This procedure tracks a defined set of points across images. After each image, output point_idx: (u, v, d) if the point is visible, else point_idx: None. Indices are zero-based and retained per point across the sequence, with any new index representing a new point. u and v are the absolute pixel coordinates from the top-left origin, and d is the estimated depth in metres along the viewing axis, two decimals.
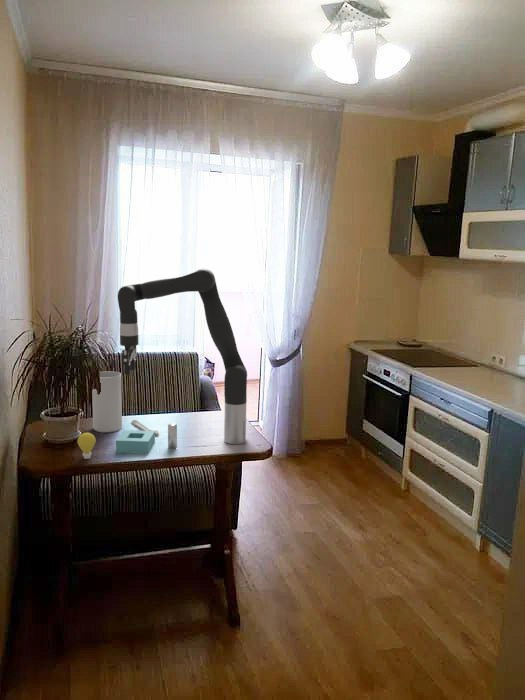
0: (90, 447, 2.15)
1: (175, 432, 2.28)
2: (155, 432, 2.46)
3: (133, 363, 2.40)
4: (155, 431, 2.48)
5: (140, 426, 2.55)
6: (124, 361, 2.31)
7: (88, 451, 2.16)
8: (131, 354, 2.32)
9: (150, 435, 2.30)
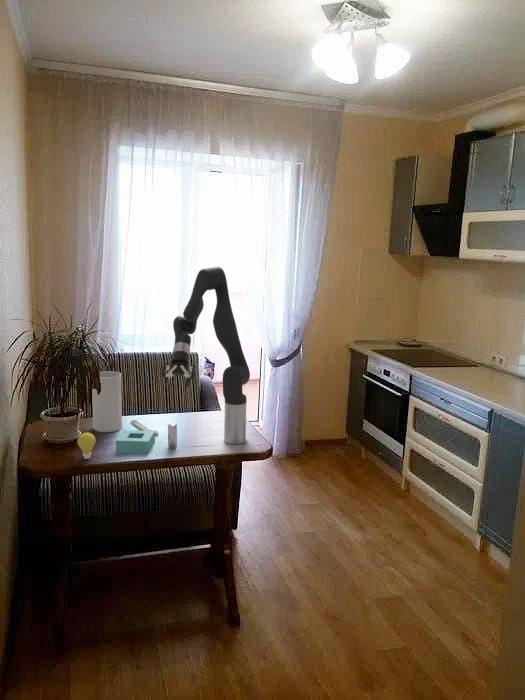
0: (90, 447, 2.15)
1: (175, 432, 2.28)
2: None
3: (186, 380, 2.39)
4: None
5: (139, 426, 2.55)
6: None
7: (88, 451, 2.16)
8: (172, 368, 2.41)
9: (150, 435, 2.30)
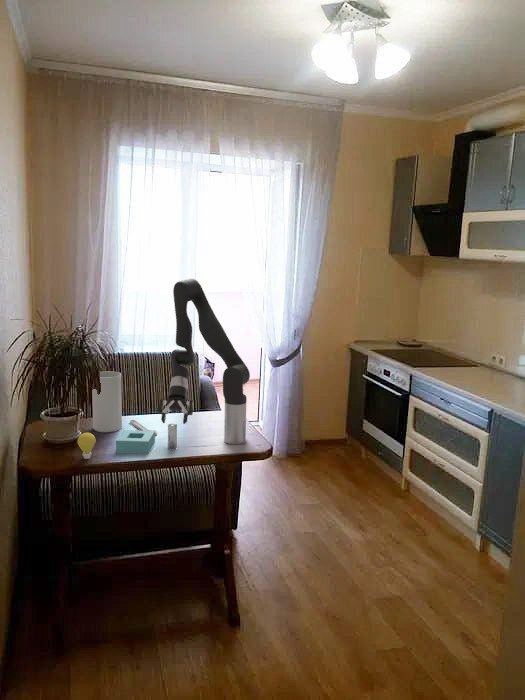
0: (90, 447, 2.15)
1: (175, 432, 2.28)
2: None
3: None
4: None
5: (138, 426, 2.55)
6: None
7: (88, 451, 2.16)
8: (169, 403, 2.36)
9: (150, 435, 2.30)
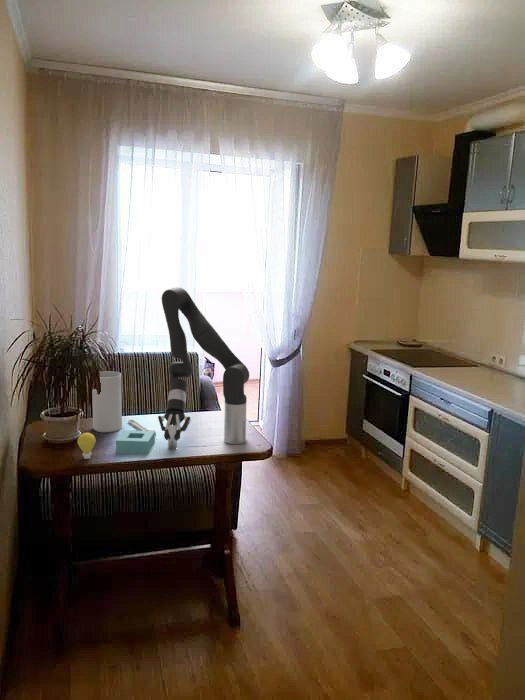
0: (90, 447, 2.15)
1: (175, 432, 2.28)
2: None
3: None
4: None
5: (137, 426, 2.55)
6: None
7: (88, 451, 2.16)
8: (168, 419, 2.31)
9: (150, 435, 2.30)
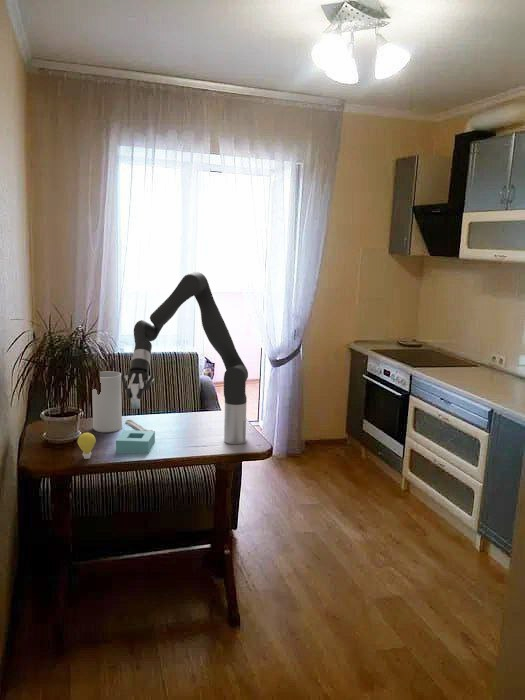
0: (90, 447, 2.15)
1: (138, 391, 2.25)
2: None
3: (139, 391, 2.26)
4: (150, 430, 2.48)
5: (135, 425, 2.55)
6: None
7: (88, 451, 2.16)
8: (131, 378, 2.28)
9: (150, 435, 2.30)
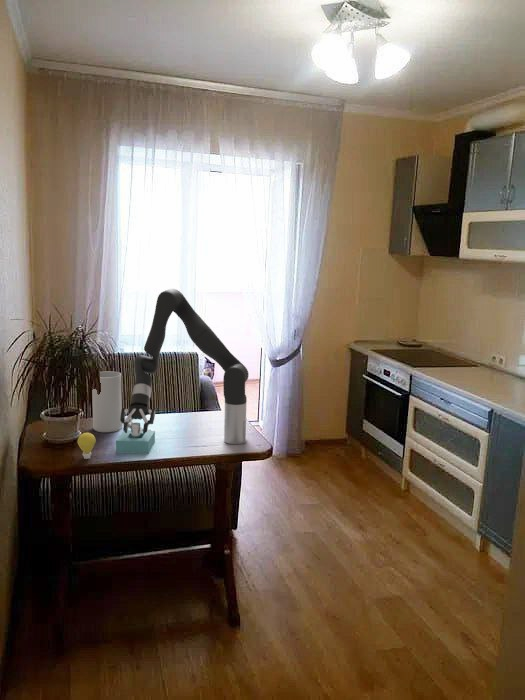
0: (90, 447, 2.15)
1: (138, 431, 2.28)
2: None
3: (144, 425, 2.29)
4: (148, 430, 2.49)
5: None
6: None
7: (88, 451, 2.16)
8: (131, 412, 2.31)
9: (150, 435, 2.30)
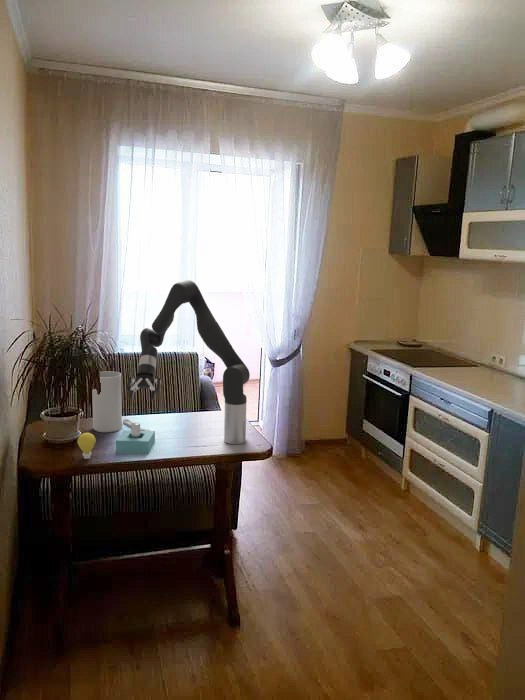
0: (90, 447, 2.15)
1: (138, 431, 2.28)
2: None
3: None
4: (147, 430, 2.49)
5: None
6: None
7: (88, 451, 2.16)
8: (137, 381, 2.42)
9: (150, 435, 2.30)
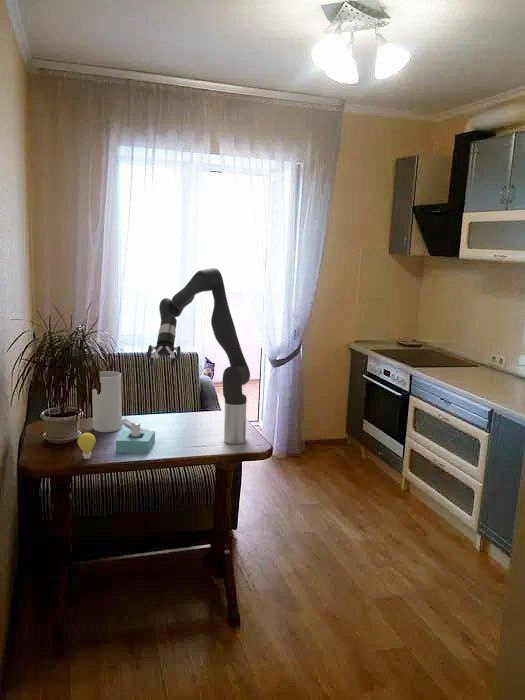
0: (90, 447, 2.15)
1: (138, 431, 2.28)
2: None
3: None
4: (146, 430, 2.49)
5: None
6: None
7: (88, 451, 2.16)
8: (157, 349, 2.44)
9: (150, 435, 2.30)
